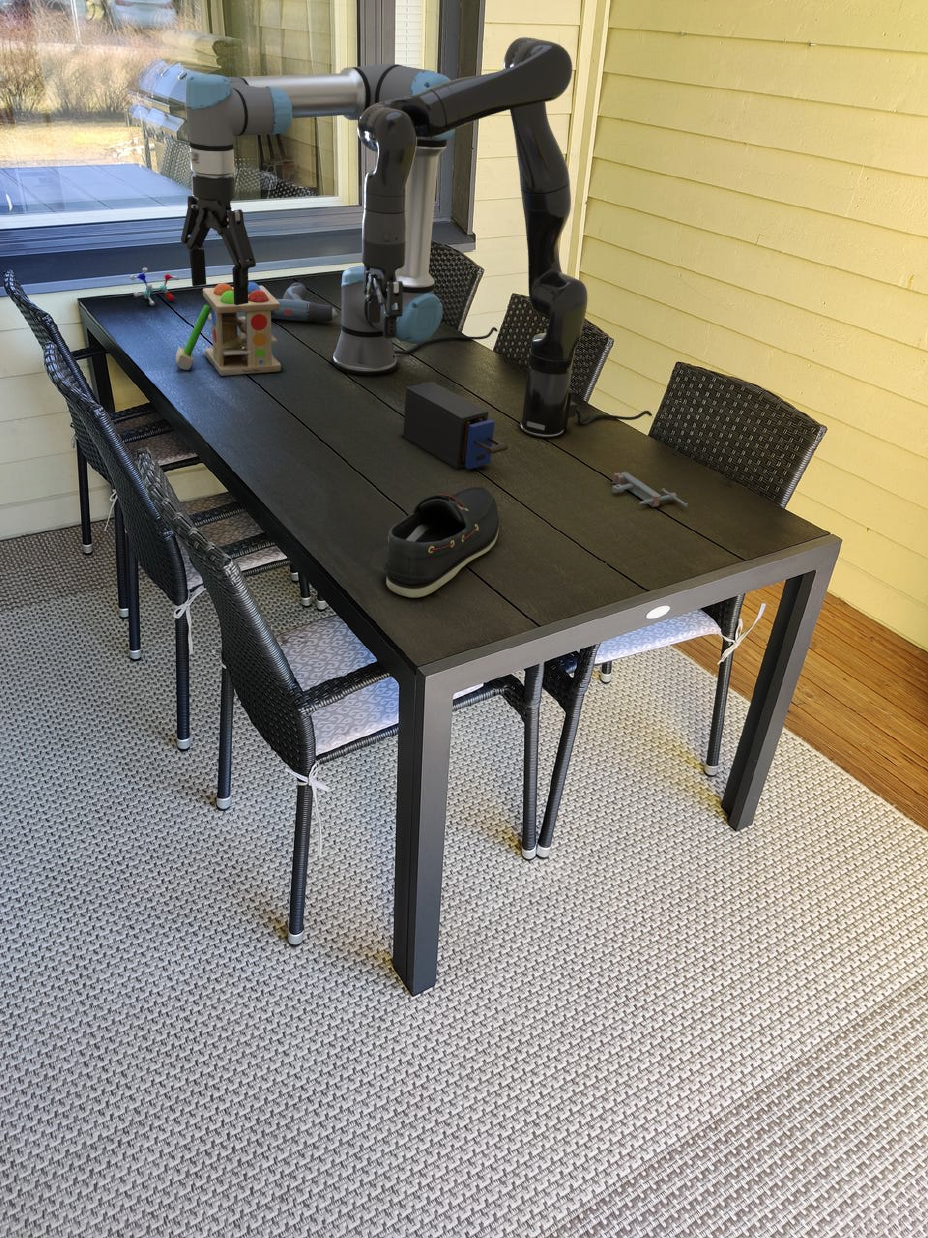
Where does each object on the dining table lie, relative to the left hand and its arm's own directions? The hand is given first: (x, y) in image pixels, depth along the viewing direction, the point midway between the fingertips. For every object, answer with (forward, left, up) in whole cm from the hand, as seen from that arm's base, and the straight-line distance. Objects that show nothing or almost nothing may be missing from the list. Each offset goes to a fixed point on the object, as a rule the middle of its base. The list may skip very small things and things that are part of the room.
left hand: (219, 294), depth 186 cm
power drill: (-58, -54, -27) cm, 84 cm away
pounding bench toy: (-18, -31, -27) cm, 45 cm away
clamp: (-49, +70, -27) cm, 90 cm away
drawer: (-31, +38, -26) cm, 55 cm away
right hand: (-15, +31, 0) cm, 34 cm away
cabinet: (-31, +32, -27) cm, 52 cm away
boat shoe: (-3, +63, -27) cm, 69 cm away
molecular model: (-27, -82, -27) cm, 90 cm away
